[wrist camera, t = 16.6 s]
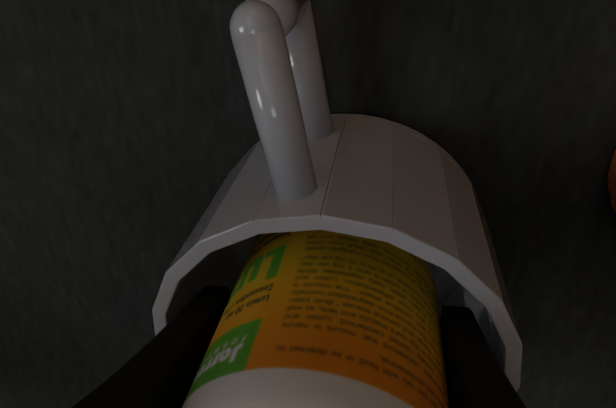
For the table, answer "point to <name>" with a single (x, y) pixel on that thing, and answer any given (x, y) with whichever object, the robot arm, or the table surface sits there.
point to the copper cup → (612, 183)
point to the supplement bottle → (326, 329)
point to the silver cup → (337, 184)
